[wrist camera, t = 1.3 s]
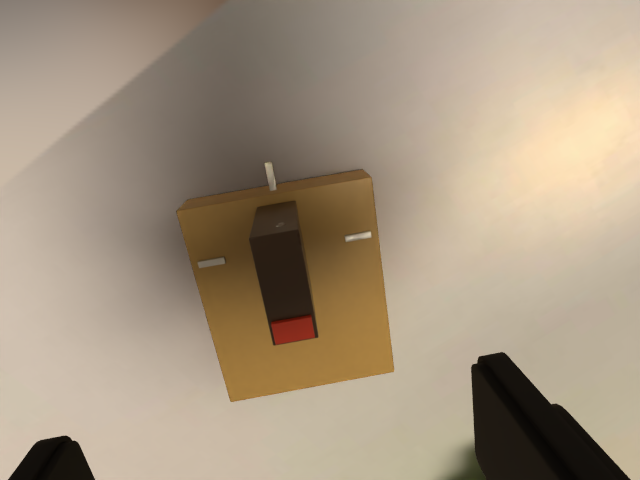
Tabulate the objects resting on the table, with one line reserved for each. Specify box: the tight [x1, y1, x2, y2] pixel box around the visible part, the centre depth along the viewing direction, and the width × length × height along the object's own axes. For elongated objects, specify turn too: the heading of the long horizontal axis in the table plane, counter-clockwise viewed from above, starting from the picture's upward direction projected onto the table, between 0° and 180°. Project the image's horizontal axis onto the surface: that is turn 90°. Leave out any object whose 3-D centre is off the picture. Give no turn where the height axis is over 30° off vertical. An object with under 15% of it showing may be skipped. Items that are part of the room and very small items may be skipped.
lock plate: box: [176, 162, 394, 402], centre depth 23 cm, size 14×10×3 cm
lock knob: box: [249, 201, 319, 346], centre depth 19 cm, size 5×2×5 cm, turn 9°
